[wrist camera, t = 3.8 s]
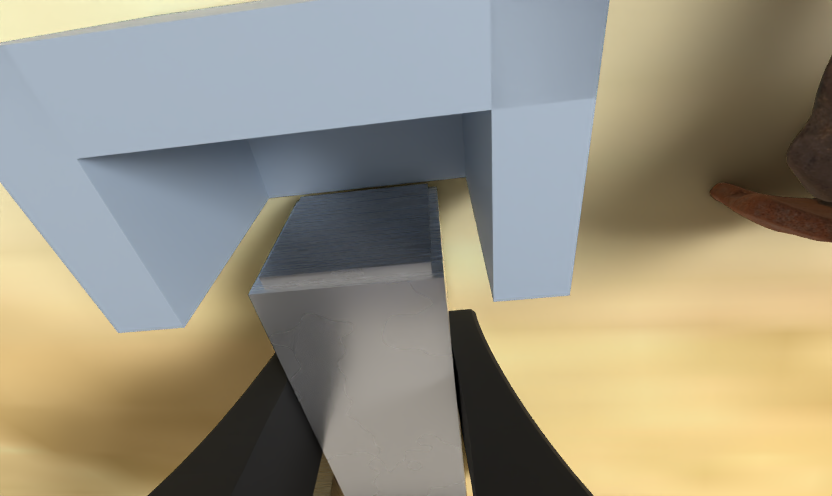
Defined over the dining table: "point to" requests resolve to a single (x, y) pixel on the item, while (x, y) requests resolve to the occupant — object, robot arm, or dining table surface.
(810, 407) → the dining table surface
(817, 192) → the pottery mug
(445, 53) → the socket
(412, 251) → the bar
